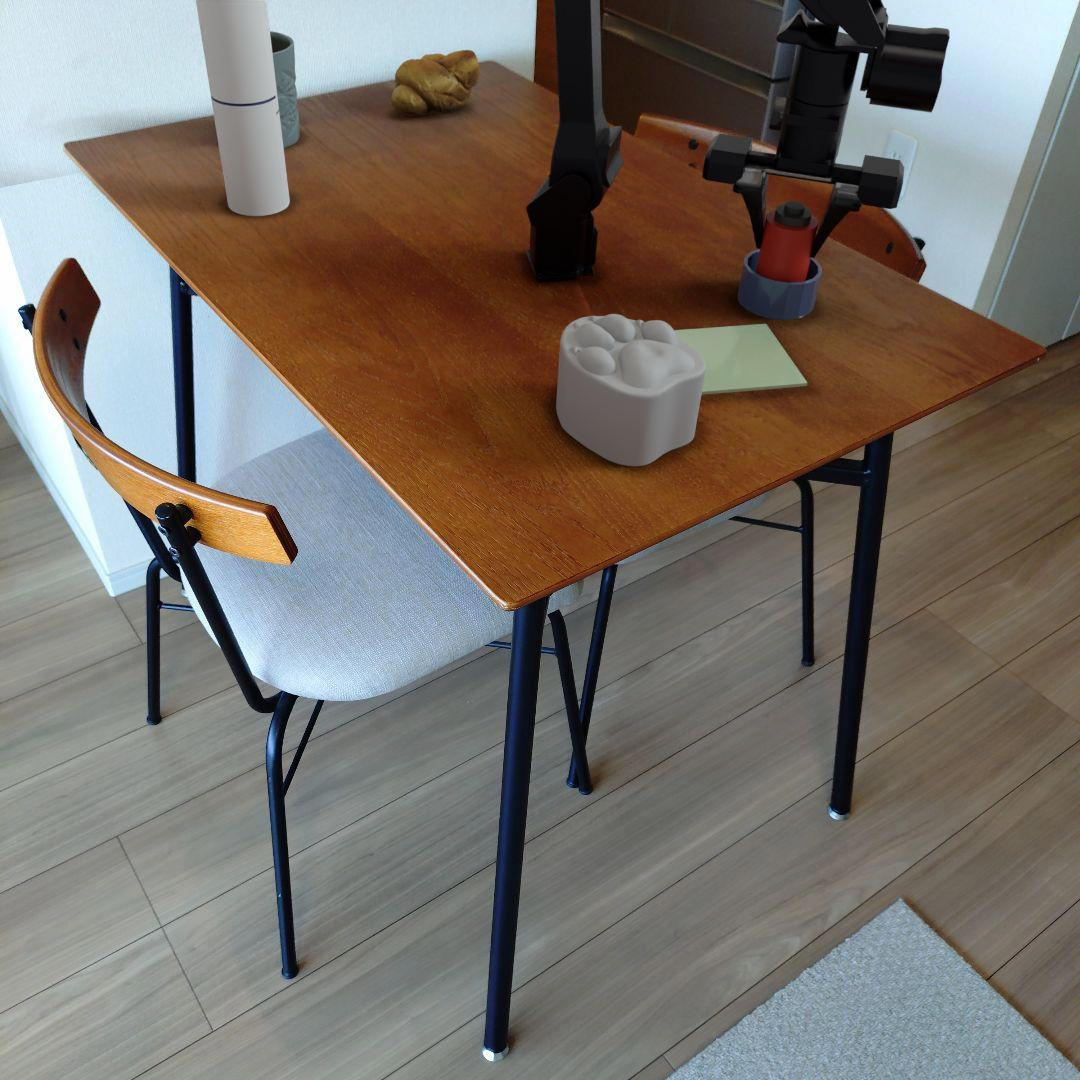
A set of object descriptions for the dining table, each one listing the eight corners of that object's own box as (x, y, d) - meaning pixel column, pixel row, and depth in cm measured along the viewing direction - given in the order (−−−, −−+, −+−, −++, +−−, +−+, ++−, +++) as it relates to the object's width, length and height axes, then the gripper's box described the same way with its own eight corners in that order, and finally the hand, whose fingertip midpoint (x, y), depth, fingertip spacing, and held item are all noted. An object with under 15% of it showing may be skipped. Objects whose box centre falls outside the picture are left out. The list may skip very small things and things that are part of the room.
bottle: (761, 314, 111) (780, 218, 104) (743, 289, 115) (761, 195, 108) (807, 310, 112) (830, 215, 105) (789, 286, 116) (809, 193, 109)
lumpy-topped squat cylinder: (625, 475, 91) (636, 389, 85) (527, 405, 98) (531, 321, 92) (710, 432, 96) (725, 348, 90) (611, 368, 103) (619, 286, 97)
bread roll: (407, 127, 146) (405, 66, 141) (373, 104, 152) (369, 45, 147) (486, 110, 152) (487, 51, 147) (450, 89, 158) (449, 31, 153)
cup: (752, 326, 110) (760, 286, 107) (726, 288, 116) (733, 249, 113) (824, 320, 112) (834, 281, 109) (795, 283, 118) (804, 245, 115)
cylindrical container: (215, 208, 125) (176, -27, 109) (250, 185, 130) (218, -43, 114) (268, 220, 123) (236, -17, 107) (301, 197, 128) (276, -33, 112)
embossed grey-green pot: (296, 154, 138) (285, 57, 130) (217, 150, 138) (201, 52, 130) (309, 125, 145) (300, 31, 138) (235, 121, 145) (221, 27, 137)
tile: (695, 399, 100) (696, 392, 99) (661, 337, 108) (662, 330, 107) (806, 389, 102) (807, 382, 101) (764, 330, 110) (766, 323, 109)
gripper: (923, 82, 104) (882, 233, 114) (731, 56, 107) (708, 205, 117) (920, 121, 96) (876, 281, 106) (713, 92, 99) (690, 249, 109)
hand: (785, 251), depth 110 cm, fingers closed on bottle, 5 cm apart
